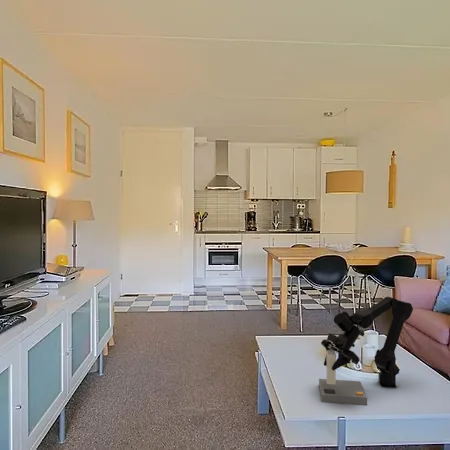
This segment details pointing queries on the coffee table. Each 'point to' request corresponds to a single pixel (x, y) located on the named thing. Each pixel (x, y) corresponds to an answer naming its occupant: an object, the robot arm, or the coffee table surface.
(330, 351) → the plug
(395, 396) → the coffee table surface
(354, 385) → the socket board
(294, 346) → the coffee table surface
